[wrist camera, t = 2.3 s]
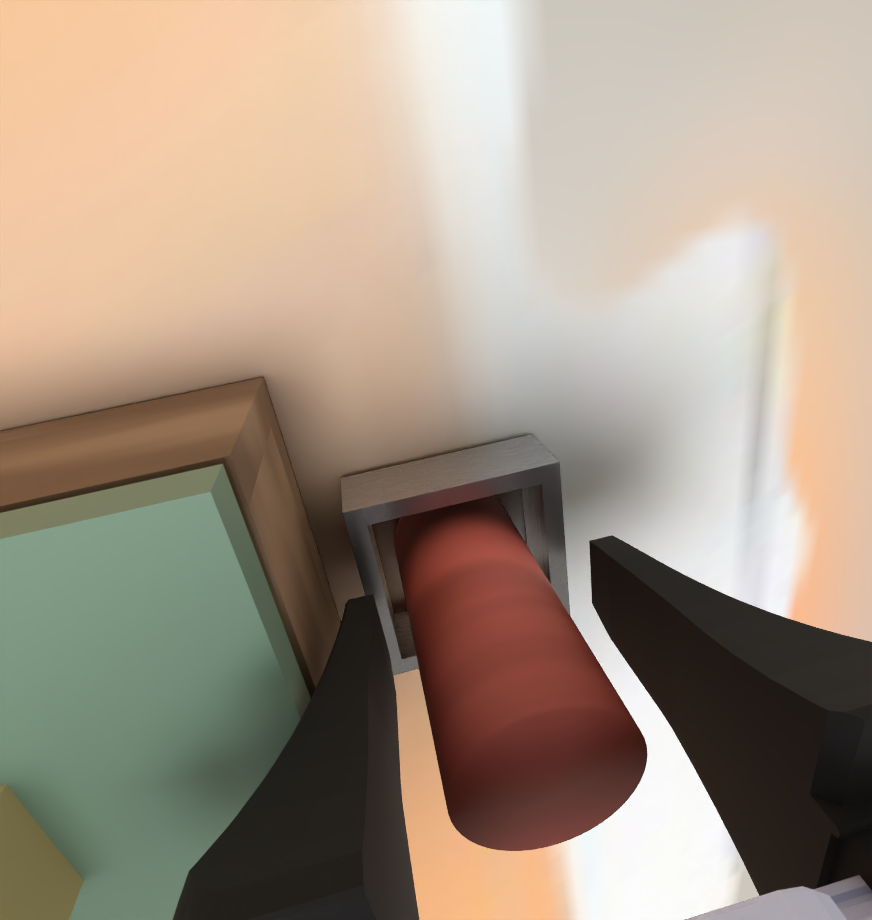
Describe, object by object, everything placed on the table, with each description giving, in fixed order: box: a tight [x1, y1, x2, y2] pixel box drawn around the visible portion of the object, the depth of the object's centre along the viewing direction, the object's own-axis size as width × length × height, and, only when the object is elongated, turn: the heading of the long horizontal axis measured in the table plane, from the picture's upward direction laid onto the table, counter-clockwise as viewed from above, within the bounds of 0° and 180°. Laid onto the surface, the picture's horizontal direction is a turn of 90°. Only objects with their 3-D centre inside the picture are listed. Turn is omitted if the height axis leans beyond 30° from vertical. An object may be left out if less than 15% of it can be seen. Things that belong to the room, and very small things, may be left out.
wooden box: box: [0, 377, 341, 698], centre depth 13 cm, size 12×14×5 cm
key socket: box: [341, 434, 570, 675], centre depth 15 cm, size 6×6×2 cm
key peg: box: [394, 495, 647, 851], centre depth 13 cm, size 4×4×8 cm
